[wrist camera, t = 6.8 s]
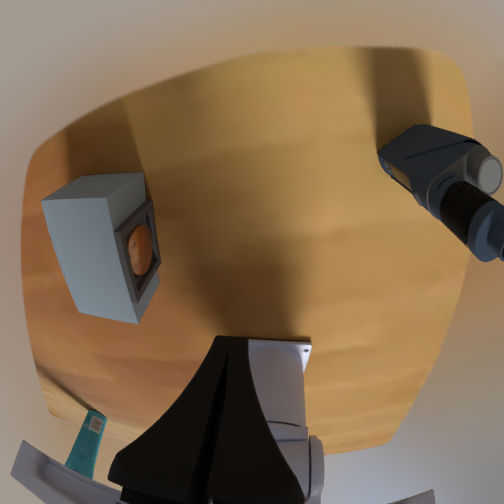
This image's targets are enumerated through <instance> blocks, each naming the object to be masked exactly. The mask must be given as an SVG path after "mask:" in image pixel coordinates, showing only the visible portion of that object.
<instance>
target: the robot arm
mask: <svg viewBox="0 0 504 504" xmlns="http://www.w3.org/2000/svg"><path fill="white" fill-rule="evenodd" d="M311 349H312V344H311V343H310V342H292V341H271V340H256V339H247V338H245V337H231V336H219V335H217V336H216V337H215V339H214V341H213V343H212V345H211V347H210V349H209V351H208V353H207V355H206V357H205V359H204V361H203V362H202V364H201V365H200V367H199V369H198V370H197V372H196V374H195V375H194V377H193V378H192V380H191V381H190V382H189V384H188V385H187V387H186V388H185V389H184V391H183V392H182V393H181V395H180V396H179V397H178V398H177V400H176V401H175V402H174V403H173V404H172V406H171V407H170V408H169V409H168V410H167V411H166V412H165V413H164V414H163V415H162V416H161V417H160V419H159V420H157V421H156V422H155V423H154V424H153V425H152V426H151V427H150V428H149V429H148V430H147V431H145V432H144V433H143V434H142V435H141V436H140V437H138V438H137V439H136V440H135V441H133V442H132V443H130V444H129V445H128V446H126V447H125V448H123V449H122V450H121V451H119V452H118V453H117V454H116V456H115V458H114V460H113V462H112V464H111V467H110V471H109V474H108V480H109V481H111V482H113V483H115V484H118V485H120V486H122V487H123V488H122V492H121V491H118V490H116V489H113V488H111V487H108V486H106V485H103V484H101V483H99V482H96V481H94V480H92V479H90V478H88V477H85V476H83V475H81V474H79V473H77V472H75V471H73V470H71V469H69V468H67V467H66V466H64V465H63V464H61V463H59V462H57V461H56V460H54V459H52V458H50V457H49V456H47V455H45V454H44V453H42V452H40V451H39V450H37V449H36V448H35V447H33V446H32V445H30V444H28V443H27V442H26V441H24V440H23V441H22V443H21V446H20V449H19V451H18V454H17V457H16V459H15V462H14V465H13V468H12V471H11V476H12V477H14V478H15V479H16V480H17V481H19V482H20V483H21V484H22V485H23V486H25V487H26V488H27V489H28V490H30V491H31V492H32V493H33V494H35V495H36V496H37V497H38V498H39V499H41V500H42V501H43V502H44V503H46V504H320V500H321V492H322V490H323V485H324V452H323V445H322V441H321V440H320V439H318V438H317V437H316V436H315V435H311V436H309V444H308V427H306V417H305V395H304V376H303V374H304V371H305V368H306V365H307V362H308V359H309V355H310V352H311ZM389 504H435V497H434V490H433V489H431V490H429V491H426V492H423V493H420V494H418V495H415V496H412V497H409V498H406V499H403V500H400V501H396V502H393V503H389Z"/></svg>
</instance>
